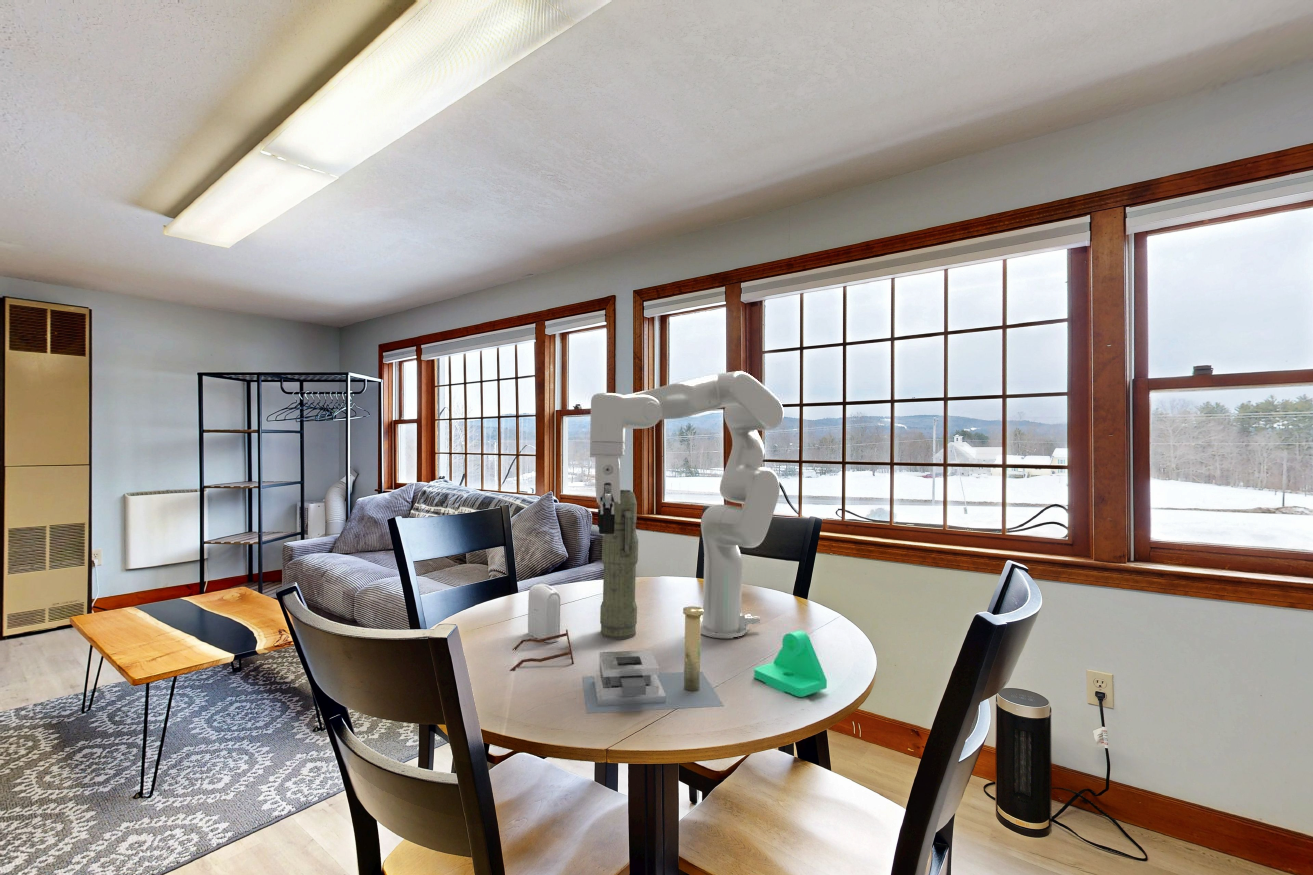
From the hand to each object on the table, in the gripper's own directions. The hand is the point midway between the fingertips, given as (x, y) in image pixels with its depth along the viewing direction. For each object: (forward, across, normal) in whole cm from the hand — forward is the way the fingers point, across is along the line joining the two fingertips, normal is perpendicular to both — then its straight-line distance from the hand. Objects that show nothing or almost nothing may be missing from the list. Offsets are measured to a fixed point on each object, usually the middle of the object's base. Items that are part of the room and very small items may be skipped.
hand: (605, 530), depth 126 cm
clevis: (+27, -19, -4) cm, 33 cm away
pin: (+27, -18, -16) cm, 36 cm away
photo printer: (+28, +16, +14) cm, 35 cm away
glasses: (+28, +2, +13) cm, 31 cm away
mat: (+28, -18, -8) cm, 34 cm away
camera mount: (+28, -16, -35) cm, 48 cm away
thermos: (+28, +18, -4) cm, 33 cm away
